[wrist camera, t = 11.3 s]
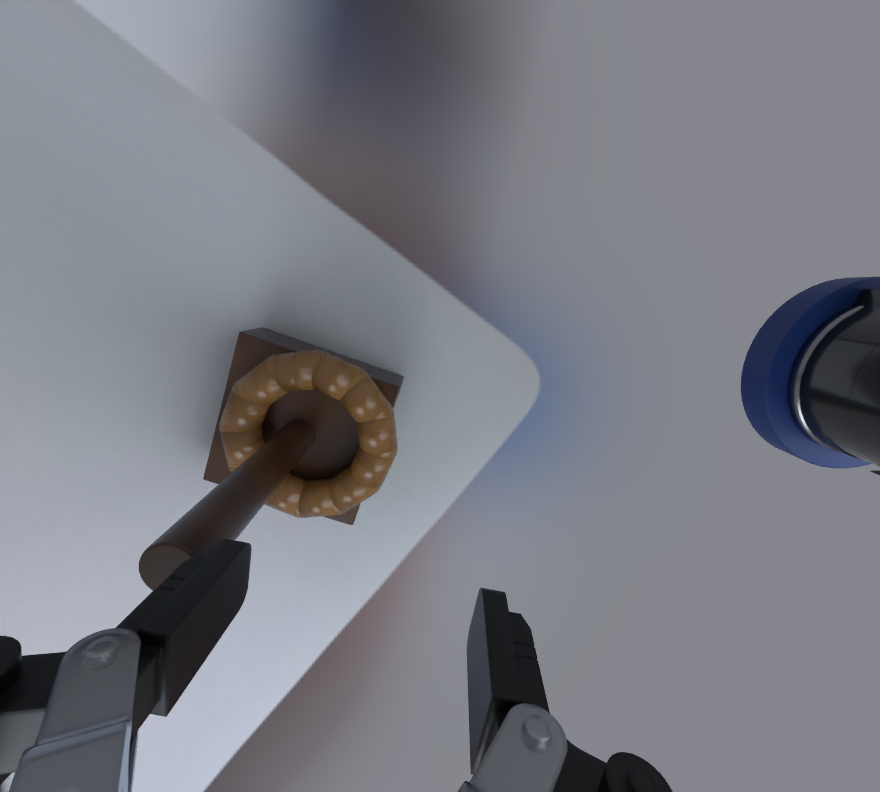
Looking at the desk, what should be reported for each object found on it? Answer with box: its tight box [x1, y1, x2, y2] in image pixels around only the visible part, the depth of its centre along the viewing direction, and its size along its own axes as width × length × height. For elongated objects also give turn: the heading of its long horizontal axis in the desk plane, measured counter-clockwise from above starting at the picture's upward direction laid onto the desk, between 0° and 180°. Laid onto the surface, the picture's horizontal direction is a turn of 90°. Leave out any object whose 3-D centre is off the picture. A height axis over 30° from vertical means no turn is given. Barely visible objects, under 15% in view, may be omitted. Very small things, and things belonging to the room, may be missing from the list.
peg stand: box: [139, 328, 404, 591], centre depth 19 cm, size 9×9×15 cm
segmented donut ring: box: [219, 350, 397, 518], centre depth 23 cm, size 9×9×2 cm
